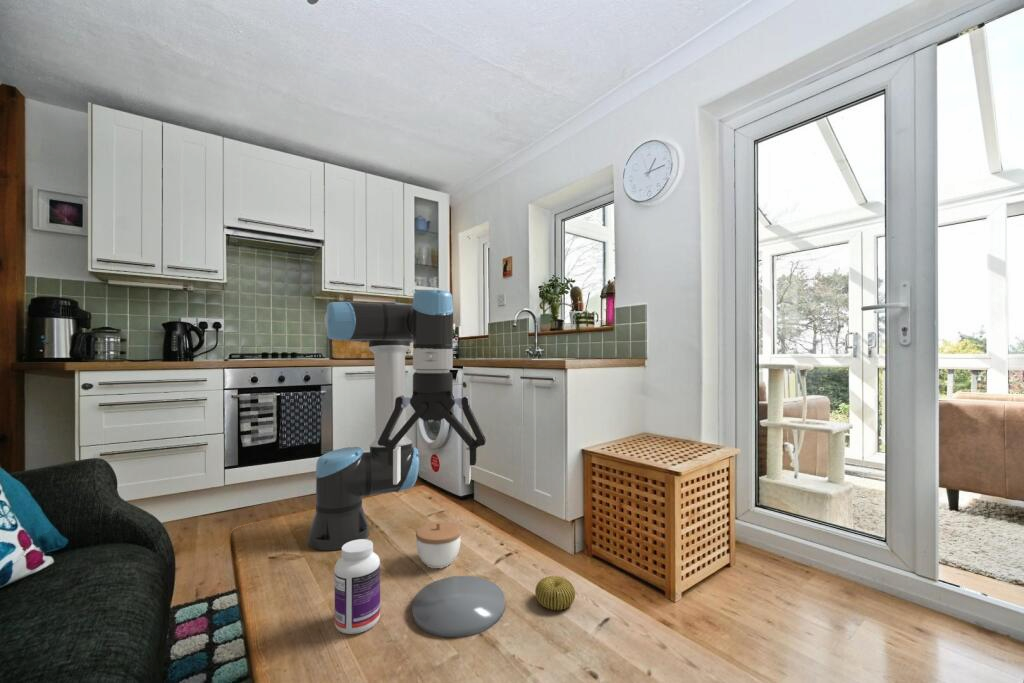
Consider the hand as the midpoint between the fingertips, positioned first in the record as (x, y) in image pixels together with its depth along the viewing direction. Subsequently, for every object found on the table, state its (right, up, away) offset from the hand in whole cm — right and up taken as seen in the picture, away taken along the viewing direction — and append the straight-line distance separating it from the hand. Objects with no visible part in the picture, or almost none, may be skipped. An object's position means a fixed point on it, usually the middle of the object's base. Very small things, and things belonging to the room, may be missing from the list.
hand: (432, 482), depth 84 cm
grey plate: (+5, -26, +3) cm, 26 cm away
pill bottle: (-14, -26, -2) cm, 29 cm away
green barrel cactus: (+24, -26, +4) cm, 36 cm away
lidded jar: (-2, -26, +21) cm, 33 cm away
